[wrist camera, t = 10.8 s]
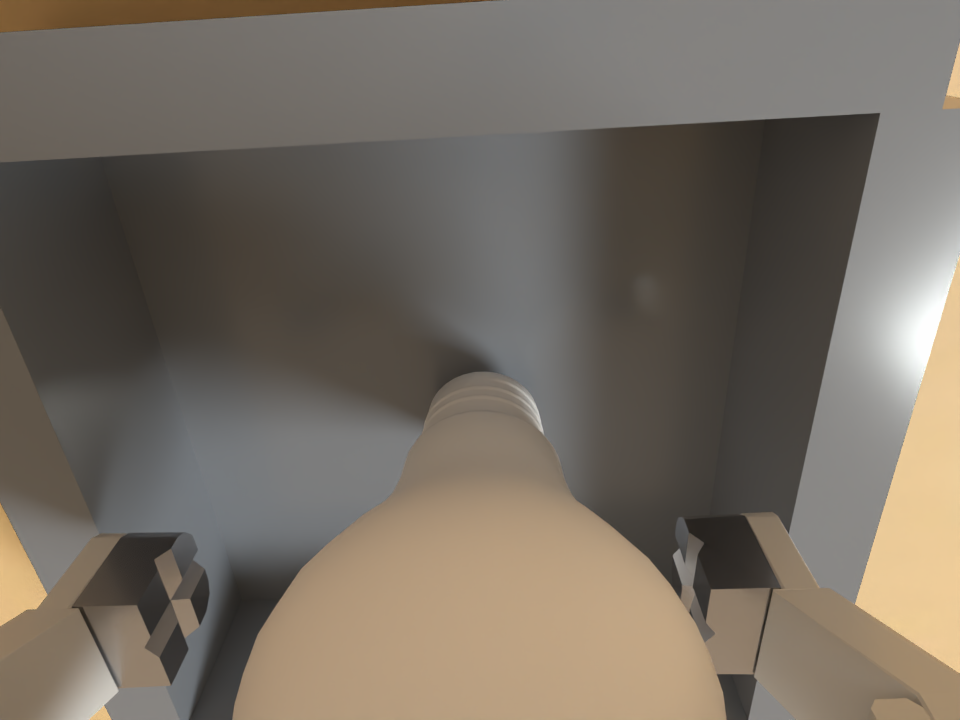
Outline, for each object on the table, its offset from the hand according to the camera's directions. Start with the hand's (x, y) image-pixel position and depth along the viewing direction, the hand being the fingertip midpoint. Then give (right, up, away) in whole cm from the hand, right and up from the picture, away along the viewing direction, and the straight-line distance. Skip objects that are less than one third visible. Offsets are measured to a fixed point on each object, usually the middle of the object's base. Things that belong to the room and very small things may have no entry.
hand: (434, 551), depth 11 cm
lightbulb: (+1, +2, +5) cm, 5 cm away
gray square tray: (0, +3, +5) cm, 6 cm away
